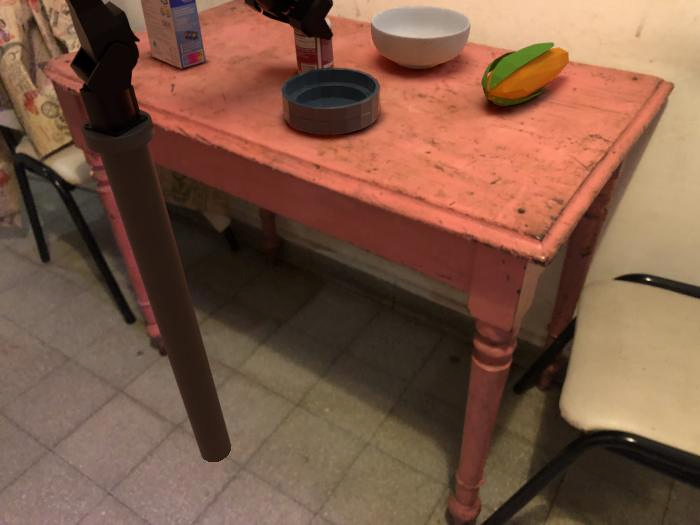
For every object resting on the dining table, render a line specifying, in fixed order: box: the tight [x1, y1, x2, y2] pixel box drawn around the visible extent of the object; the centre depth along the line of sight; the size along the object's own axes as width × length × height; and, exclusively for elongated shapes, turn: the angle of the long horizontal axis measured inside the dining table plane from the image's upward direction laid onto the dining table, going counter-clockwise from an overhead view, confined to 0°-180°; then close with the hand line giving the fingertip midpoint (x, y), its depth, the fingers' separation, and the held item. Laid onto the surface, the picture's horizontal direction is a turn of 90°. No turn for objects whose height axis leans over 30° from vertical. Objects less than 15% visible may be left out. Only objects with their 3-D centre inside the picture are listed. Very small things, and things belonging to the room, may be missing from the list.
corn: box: [480, 41, 570, 107], centre depth 90 cm, size 7×8×20 cm
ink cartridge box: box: [140, 0, 207, 70], centre depth 102 cm, size 10×6×14 cm, turn 47°
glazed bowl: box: [280, 67, 381, 136], centre depth 86 cm, size 14×14×4 cm
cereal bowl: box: [370, 5, 471, 70], centre depth 101 cm, size 17×17×7 cm
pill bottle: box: [293, 16, 335, 74], centre depth 97 cm, size 6×6×11 cm
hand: (320, 32), depth 97 cm, fingers closed on pill bottle, 6 cm apart
